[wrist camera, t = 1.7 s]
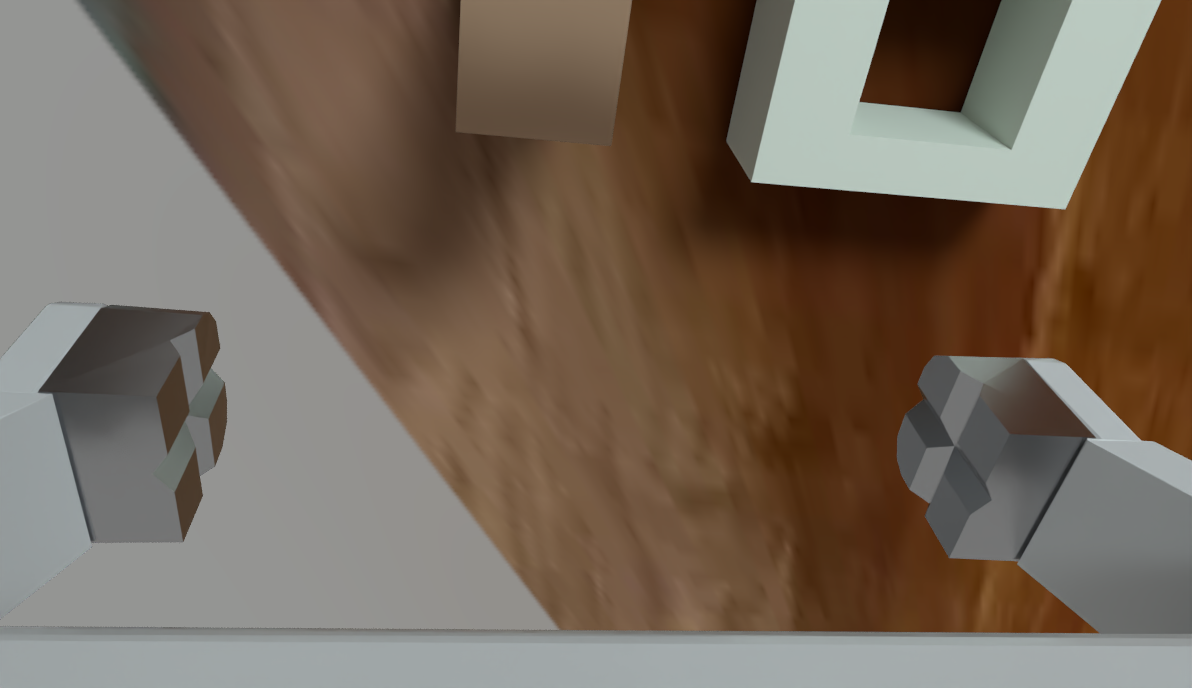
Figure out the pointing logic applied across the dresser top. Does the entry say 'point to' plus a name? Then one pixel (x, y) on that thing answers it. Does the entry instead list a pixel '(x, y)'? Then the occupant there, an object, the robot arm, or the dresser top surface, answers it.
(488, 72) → the wood grain block
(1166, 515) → the robot arm
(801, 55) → the socket board
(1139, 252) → the dresser top surface
